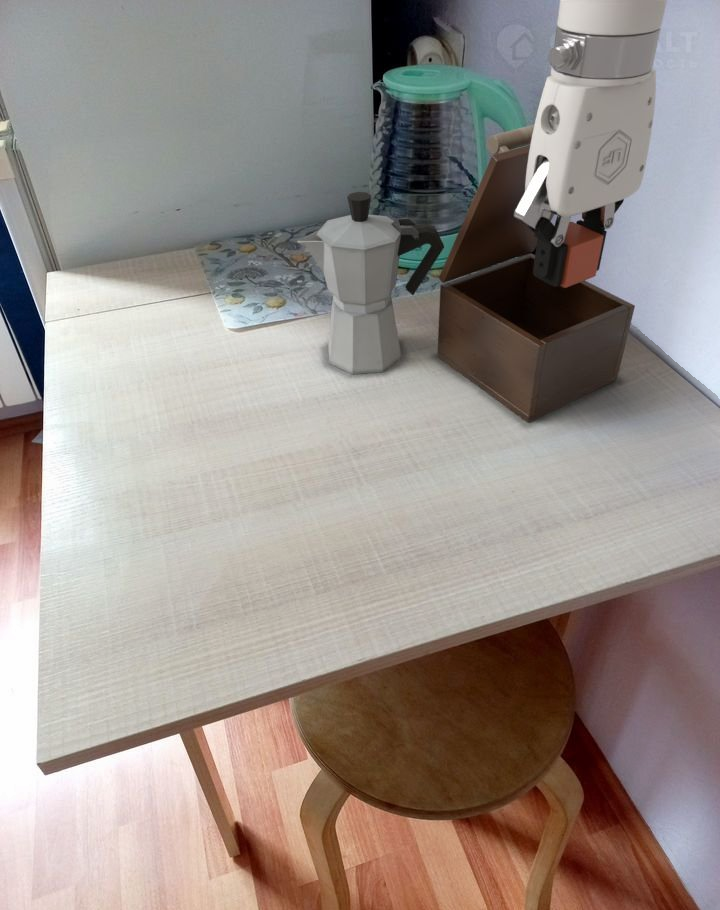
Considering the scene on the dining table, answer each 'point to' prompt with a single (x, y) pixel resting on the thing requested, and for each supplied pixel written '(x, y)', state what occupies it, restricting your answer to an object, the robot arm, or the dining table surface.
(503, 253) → the lid
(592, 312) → the wooden trinket chest
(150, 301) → the dining table surface
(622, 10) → the robot arm
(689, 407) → the dining table surface
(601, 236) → the block
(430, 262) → the coffee maker
